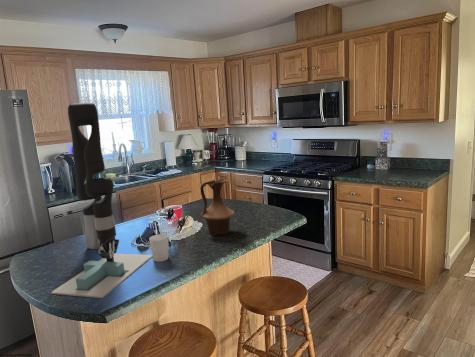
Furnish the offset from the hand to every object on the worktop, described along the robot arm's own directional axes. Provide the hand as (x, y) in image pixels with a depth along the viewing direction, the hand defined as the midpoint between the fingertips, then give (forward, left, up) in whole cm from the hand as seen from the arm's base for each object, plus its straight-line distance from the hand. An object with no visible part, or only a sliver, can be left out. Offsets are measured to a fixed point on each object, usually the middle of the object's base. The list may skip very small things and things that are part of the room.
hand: (111, 265), depth 154 cm
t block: (0, -10, -1) cm, 10 cm away
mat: (0, -3, -2) cm, 4 cm away
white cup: (+16, +13, -2) cm, 21 cm away
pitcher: (+31, +49, -2) cm, 58 cm away
